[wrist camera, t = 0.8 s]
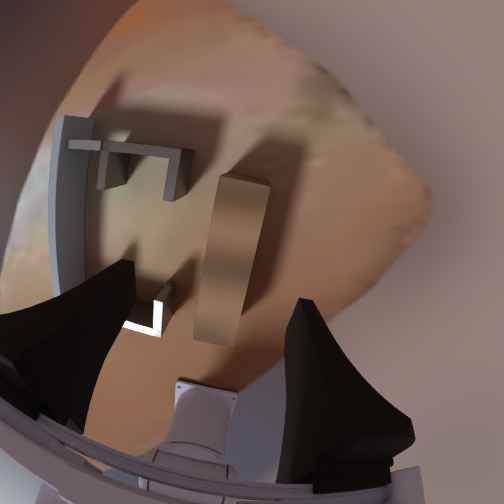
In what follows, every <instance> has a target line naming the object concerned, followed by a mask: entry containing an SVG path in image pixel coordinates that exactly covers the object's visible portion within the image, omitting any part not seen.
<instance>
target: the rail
mask: <svg viewBox="0 0 504 504" xmlns="http://www.w3.org/2000/svg"><path fill="white" fill-rule="evenodd" d="M270 189H271V185H270V182H269V181H268V180H263V179H259V178H254V177H250V176H245V175H240V174H235V173H230V172H227V173H225V174H223V175H220V176H219V181H218V187H217V192H216V197H215V202H214V207H213V213H212V218H211V224H210V229H209V235H208V241H207V247H206V253H205V259H204V265H203V271H202V278H201V284H200V291H199V298H198V305H197V312H196V319H195V327H194V334H193V339H194V340H198V341H202V342H207V343H211V344H216V345H220V346H225V347H230V348H233V346H234V342H235V337H236V333H237V329H238V325H239V321H240V316H241V312H242V308H243V304H244V300H245V295H246V291H247V287H248V283H249V278H250V274H251V270H252V266H253V262H254V257H255V253H256V249H257V245H258V240H259V236H260V232H261V227H262V223H263V219H264V215H265V210H266V206H267V202H268V198H269V193H270Z"/></svg>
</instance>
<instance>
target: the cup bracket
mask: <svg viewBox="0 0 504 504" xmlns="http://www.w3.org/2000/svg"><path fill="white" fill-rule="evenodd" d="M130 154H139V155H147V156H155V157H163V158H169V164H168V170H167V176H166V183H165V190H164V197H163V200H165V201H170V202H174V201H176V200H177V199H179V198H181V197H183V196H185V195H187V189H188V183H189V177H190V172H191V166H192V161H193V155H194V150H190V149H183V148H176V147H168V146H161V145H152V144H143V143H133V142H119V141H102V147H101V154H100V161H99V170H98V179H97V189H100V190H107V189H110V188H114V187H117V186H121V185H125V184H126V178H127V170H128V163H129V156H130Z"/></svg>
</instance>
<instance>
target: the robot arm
mask: <svg viewBox="0 0 504 504" xmlns="http://www.w3.org/2000/svg"><path fill="white" fill-rule="evenodd" d="M136 298H137V295H136V283H135V267H134V262H132V261H128V260H124V259H121V260H119V261H118V262H116V263H114V264H112V265H111V266H109V267H108V268H106V269H104V270H103V271H101V272H99V273H98V274H96V275H95V276H93V277H91V278H90V279H88V280H86V281H85V282H83V283H81V284H79V285H77V286H76V287H74V288H72V289H70V290H69V291H67V292H65V293H63V294H61V295H59V296H56V297H54V298H52V299H50V300H47V301H45V302H42V303H40V304H37V305H34V306H32V307H29V308H26V309H22V310H19V311H15V312H11V313H7V314H2V315H0V450H1V451H2V452H4V453H5V454H6V455H7V456H8V457H10V458H11V459H12V460H13V461H14V462H16V463H17V464H19V465H20V466H21V467H22V468H24V469H25V470H26V471H28V472H29V473H30V474H32V475H33V476H35V477H36V478H38V479H39V480H41V481H42V483H41V486H40V489H39V492H38V495H37V499H36V502H35V504H233V503H234V499H235V498H237V499H247V500H261V501H238V502H236V504H425V500H424V492H423V484H422V478H421V472H420V467H419V466H415V467H411V468H406V469H402V470H397V471H394V472H391V473H390V467H391V466H393V463H394V462H393V457H394V456H396V455H398V454H399V453H401V452H403V451H404V450H406V449H407V448H409V447H410V446H411V445H412V444H413V443H414V442H415V434H414V430H413V425H412V421H411V419H410V418H409V417H408V416H406V415H405V414H403V413H402V412H401V411H399V410H398V409H397V408H395V407H394V406H393V405H392V404H390V403H389V402H388V401H387V400H386V399H384V398H383V397H382V396H381V395H380V394H379V393H378V392H377V391H376V390H375V389H374V388H373V387H372V386H371V385H370V384H369V383H368V382H367V381H366V380H365V379H364V378H363V377H362V375H361V374H360V373H359V372H358V371H357V370H356V368H355V367H354V366H353V365H352V363H351V362H350V361H349V359H348V358H347V357H346V355H345V354H344V352H343V351H342V349H341V348H340V346H339V345H338V343H337V342H336V340H335V339H334V337H333V335H332V334H331V332H330V330H329V329H328V327H327V325H326V323H325V322H324V320H323V318H322V316H321V314H320V312H319V311H318V309H317V307H316V305H315V303H314V302H313V300H309V299H303V298H299V299H298V302H297V304H296V307H295V309H294V312H293V314H292V317H291V319H290V321H289V324H288V326H287V329H286V335H285V348H284V355H285V376H286V414H285V425H284V434H283V442H282V450H281V456H280V463H279V468H278V474H277V479H276V483H275V484H274V483H259V482H248V481H239V480H237V470H236V469H235V468H234V466H233V465H231V464H228V465H227V459H228V457H227V456H226V448H227V440H228V432H229V426H230V423H231V420H232V417H233V413H234V410H235V407H236V403H237V400H238V396H239V394H238V393H236V392H231V391H226V390H221V389H216V388H211V387H206V386H202V385H198V384H193V383H189V382H185V381H181V380H177V381H176V388H175V410H174V414H173V417H172V420H171V423H170V427H169V430H168V433H167V436H166V440H165V443H164V442H161V445H160V449H157V448H153V449H152V450H149V451H148V452H147V453H146V455H145V457H144V460H143V459H140V458H137V457H134V456H131V455H128V454H126V453H123V452H120V451H117V450H115V449H112V448H110V447H107V446H105V445H102V444H100V443H98V442H95V441H93V440H91V439H89V438H87V437H84V436H82V434H84V428H85V423H86V418H87V413H88V409H89V405H90V401H91V398H92V394H93V391H94V388H95V385H96V382H97V379H98V376H99V373H100V371H101V368H102V365H103V363H104V360H105V358H106V356H107V354H108V352H109V350H110V348H111V347H112V345H113V343H114V341H115V339H116V338H117V336H118V334H119V332H120V331H121V329H122V327H123V325H124V324H125V322H126V320H127V318H128V317H129V315H130V312H131V310H132V308H133V305H134V303H135V300H136ZM64 445H65V446H67V447H69V448H71V449H73V450H75V451H77V452H79V453H81V454H83V455H85V456H87V457H89V458H91V459H94V460H96V461H98V462H100V463H103V464H105V465H108V466H110V467H113V468H116V469H118V470H121V471H123V472H126V473H129V474H131V475H134V476H137V477H139V488H138V487H135V486H132V485H129V484H126V483H124V482H121V481H118V480H115V479H113V478H110V477H108V476H105V475H103V472H102V470H100V469H98V468H97V467H95V466H93V465H92V464H91V463H89V462H88V461H87V460H86V459H85V458H84V457H82V456H80V455H78V454H76V453H75V452H73V451H71V450H70V449H68V448H66V447H65V446H64Z"/></svg>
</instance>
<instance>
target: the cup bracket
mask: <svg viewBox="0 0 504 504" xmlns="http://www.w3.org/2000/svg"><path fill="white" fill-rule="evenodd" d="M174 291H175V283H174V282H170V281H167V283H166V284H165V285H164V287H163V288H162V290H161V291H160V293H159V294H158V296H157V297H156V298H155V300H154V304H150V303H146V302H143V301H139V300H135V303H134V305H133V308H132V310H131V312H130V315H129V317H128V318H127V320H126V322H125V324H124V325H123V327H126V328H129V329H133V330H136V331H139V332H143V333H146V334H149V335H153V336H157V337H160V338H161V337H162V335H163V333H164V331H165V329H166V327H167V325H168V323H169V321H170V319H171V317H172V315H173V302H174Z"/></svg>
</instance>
